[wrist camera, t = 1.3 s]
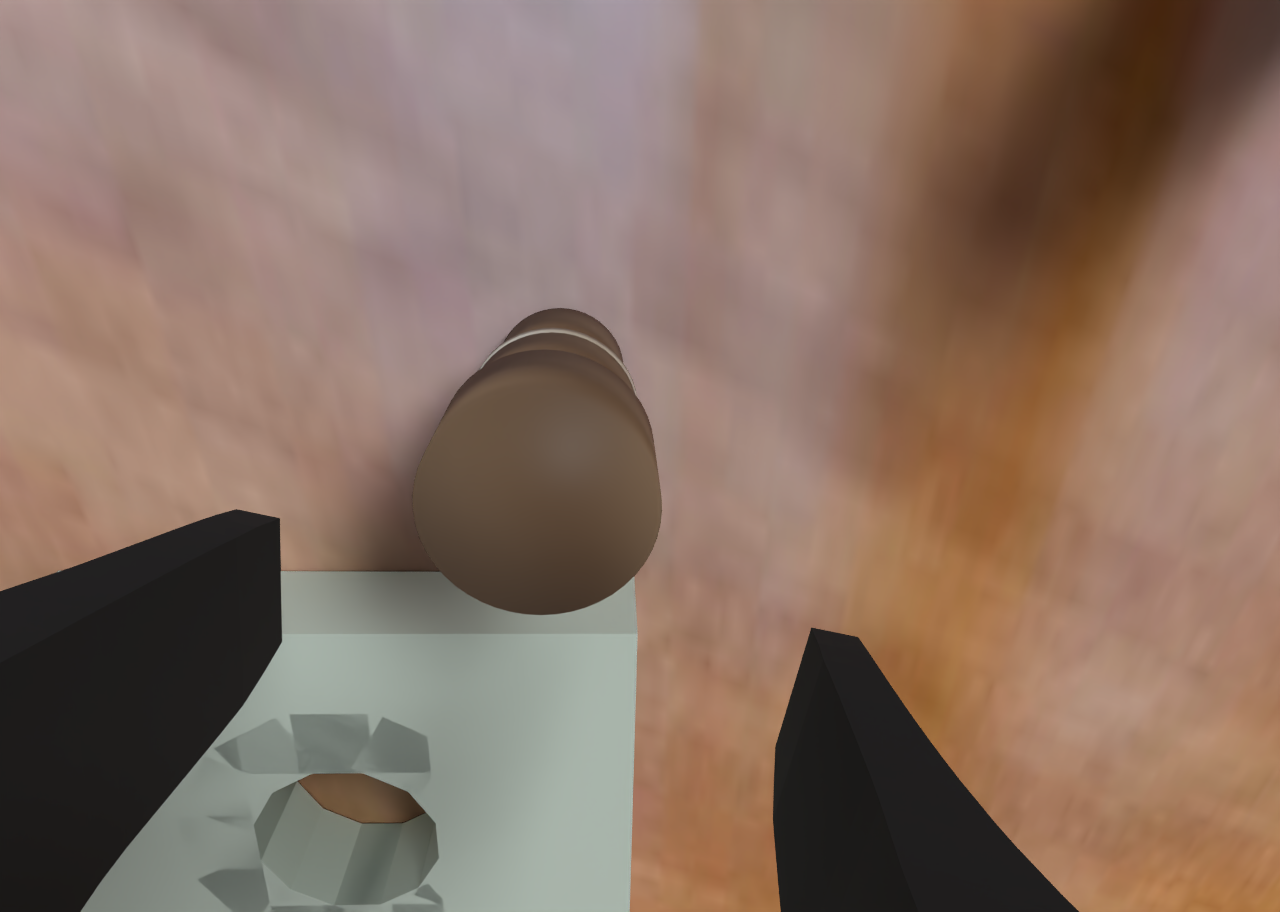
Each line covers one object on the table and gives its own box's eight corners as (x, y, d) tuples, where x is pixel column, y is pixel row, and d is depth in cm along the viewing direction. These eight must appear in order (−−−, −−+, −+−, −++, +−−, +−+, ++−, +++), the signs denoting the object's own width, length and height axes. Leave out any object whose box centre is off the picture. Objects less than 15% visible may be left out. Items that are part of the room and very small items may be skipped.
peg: (483, 444, 22) (421, 615, 15) (474, 287, 21) (401, 390, 13) (640, 445, 22) (657, 615, 15) (644, 289, 21) (666, 394, 13)
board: (158, 924, 29) (111, 1011, 26) (58, 570, 23) (-16, 634, 20) (624, 916, 29) (626, 1001, 27) (634, 572, 24) (637, 633, 21)
